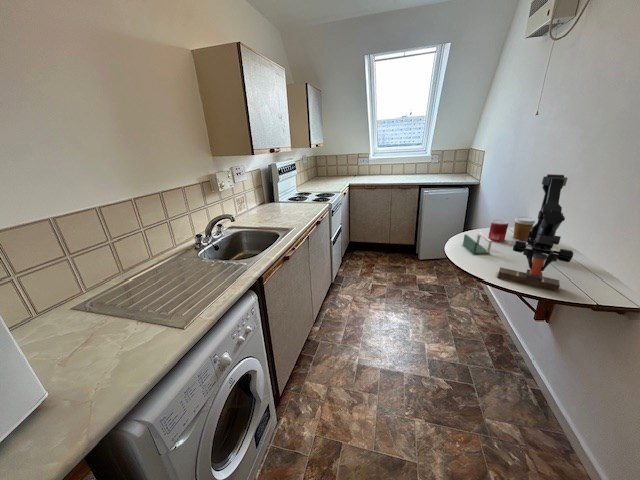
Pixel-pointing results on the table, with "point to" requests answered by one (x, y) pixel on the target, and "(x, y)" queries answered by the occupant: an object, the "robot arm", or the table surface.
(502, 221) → the canned food
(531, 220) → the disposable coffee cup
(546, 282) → the rail
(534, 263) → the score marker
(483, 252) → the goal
